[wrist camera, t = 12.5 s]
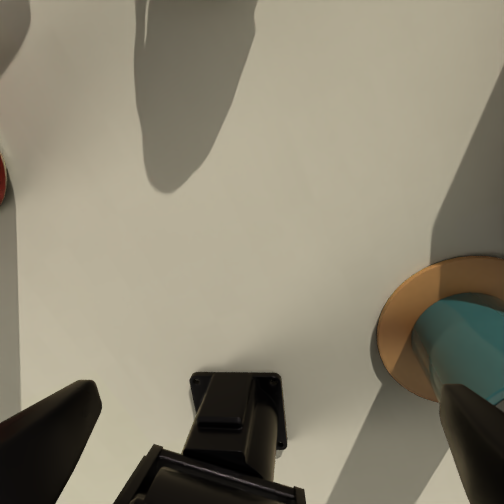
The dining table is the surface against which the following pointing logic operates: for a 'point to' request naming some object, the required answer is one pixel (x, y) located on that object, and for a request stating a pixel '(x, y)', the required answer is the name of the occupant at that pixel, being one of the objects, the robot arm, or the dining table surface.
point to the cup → (463, 344)
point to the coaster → (418, 300)
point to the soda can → (2, 178)
